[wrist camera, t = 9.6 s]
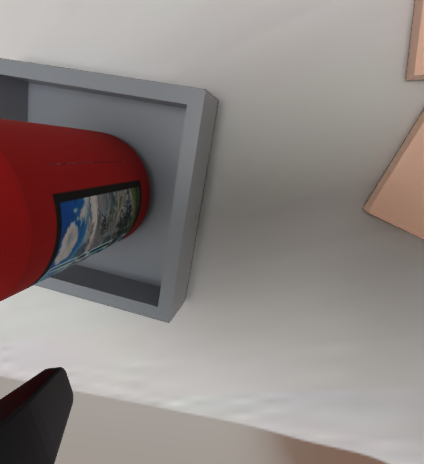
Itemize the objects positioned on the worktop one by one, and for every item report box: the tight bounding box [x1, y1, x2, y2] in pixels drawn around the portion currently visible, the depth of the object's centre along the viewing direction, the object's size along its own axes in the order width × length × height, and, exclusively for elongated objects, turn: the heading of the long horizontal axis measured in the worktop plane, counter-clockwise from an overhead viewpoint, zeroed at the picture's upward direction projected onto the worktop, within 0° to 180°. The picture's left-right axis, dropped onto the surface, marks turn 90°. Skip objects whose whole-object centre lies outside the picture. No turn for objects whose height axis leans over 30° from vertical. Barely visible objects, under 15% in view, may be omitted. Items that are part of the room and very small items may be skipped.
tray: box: [0, 58, 219, 323], centre depth 20 cm, size 13×13×3 cm
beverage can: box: [0, 119, 150, 301], centre depth 15 cm, size 7×7×12 cm
